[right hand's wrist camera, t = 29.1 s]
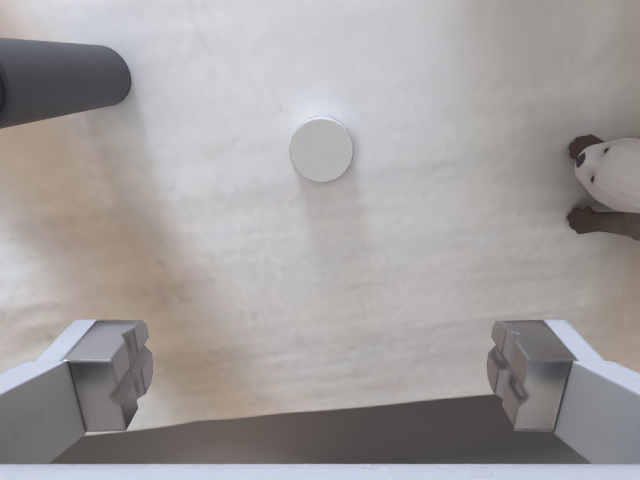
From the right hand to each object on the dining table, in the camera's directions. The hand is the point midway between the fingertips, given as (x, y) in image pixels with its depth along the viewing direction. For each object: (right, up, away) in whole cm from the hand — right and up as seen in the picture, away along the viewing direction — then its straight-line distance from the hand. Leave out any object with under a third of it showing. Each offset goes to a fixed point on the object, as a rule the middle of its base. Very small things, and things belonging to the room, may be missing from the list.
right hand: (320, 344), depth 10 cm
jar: (-16, +15, +22) cm, 31 cm away
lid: (0, +9, +23) cm, 25 cm away
